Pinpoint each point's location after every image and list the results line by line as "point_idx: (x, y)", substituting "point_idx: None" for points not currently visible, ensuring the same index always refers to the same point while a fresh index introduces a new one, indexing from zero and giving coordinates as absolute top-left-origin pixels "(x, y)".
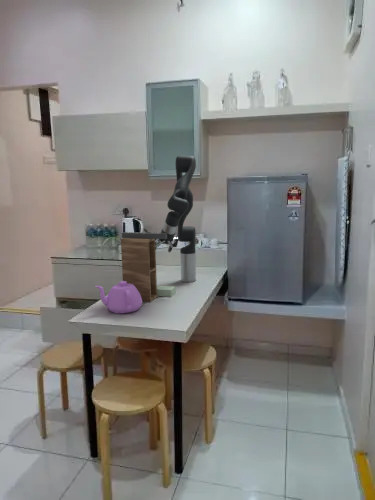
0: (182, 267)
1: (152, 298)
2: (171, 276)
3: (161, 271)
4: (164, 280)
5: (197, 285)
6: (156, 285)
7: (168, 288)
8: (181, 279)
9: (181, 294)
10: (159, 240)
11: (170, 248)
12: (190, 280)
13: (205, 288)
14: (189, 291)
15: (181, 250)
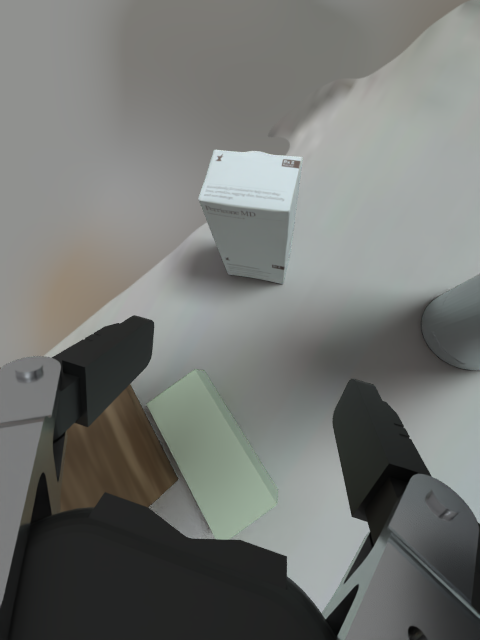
0: (478, 313)
1: None
2: (420, 216)
3: (423, 117)
4: (352, 260)
5: (458, 451)
6: (148, 506)
7: (229, 503)
8: (425, 318)
9: (287, 534)
10: (13, 485)
11: (354, 500)
12: (463, 367)
13: None
14: (352, 520)
15: None
